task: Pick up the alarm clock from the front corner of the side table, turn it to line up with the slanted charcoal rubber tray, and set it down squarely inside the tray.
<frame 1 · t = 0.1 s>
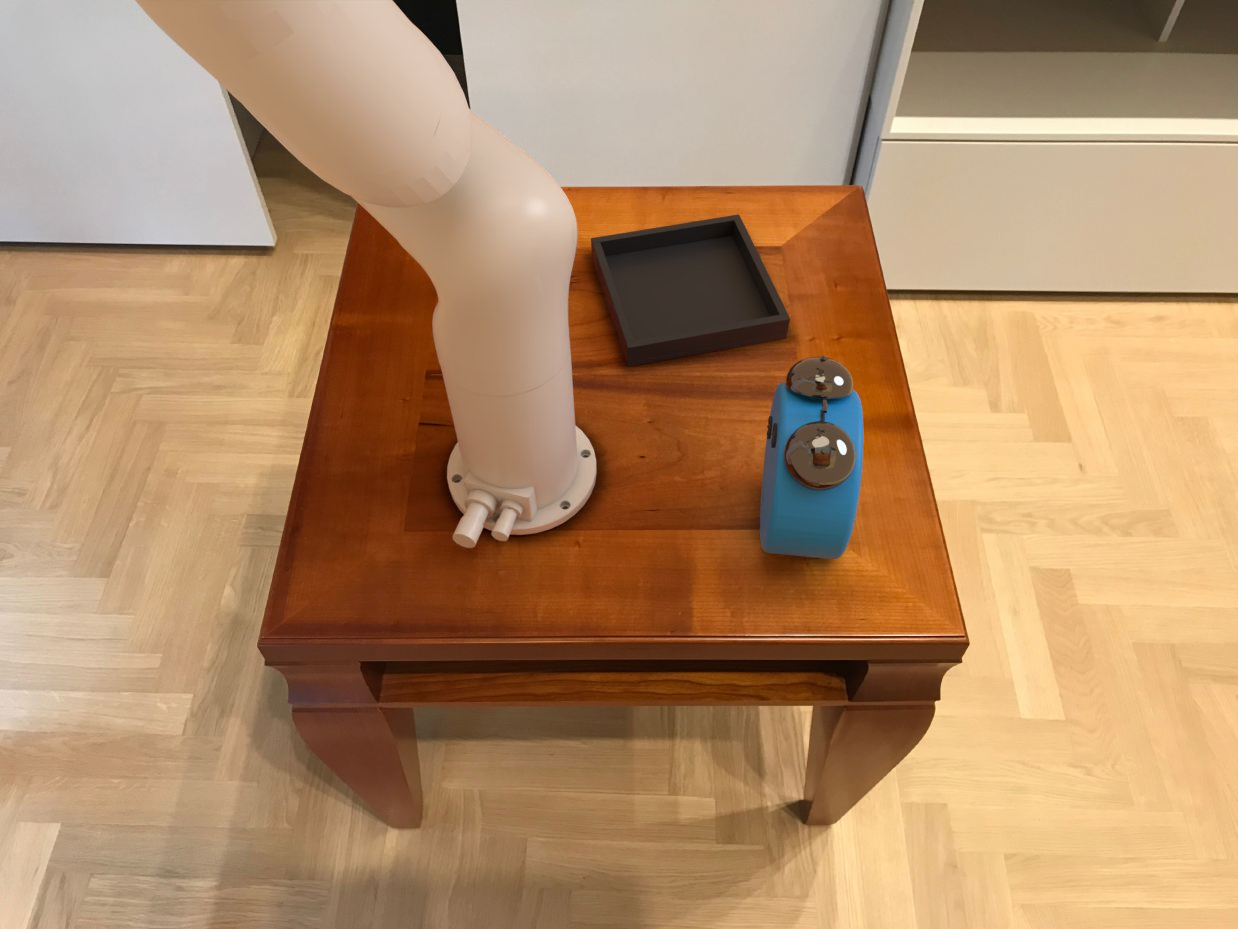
alarm clock: (793, 520, 78), on the table
tray: (685, 296, 93), on the table
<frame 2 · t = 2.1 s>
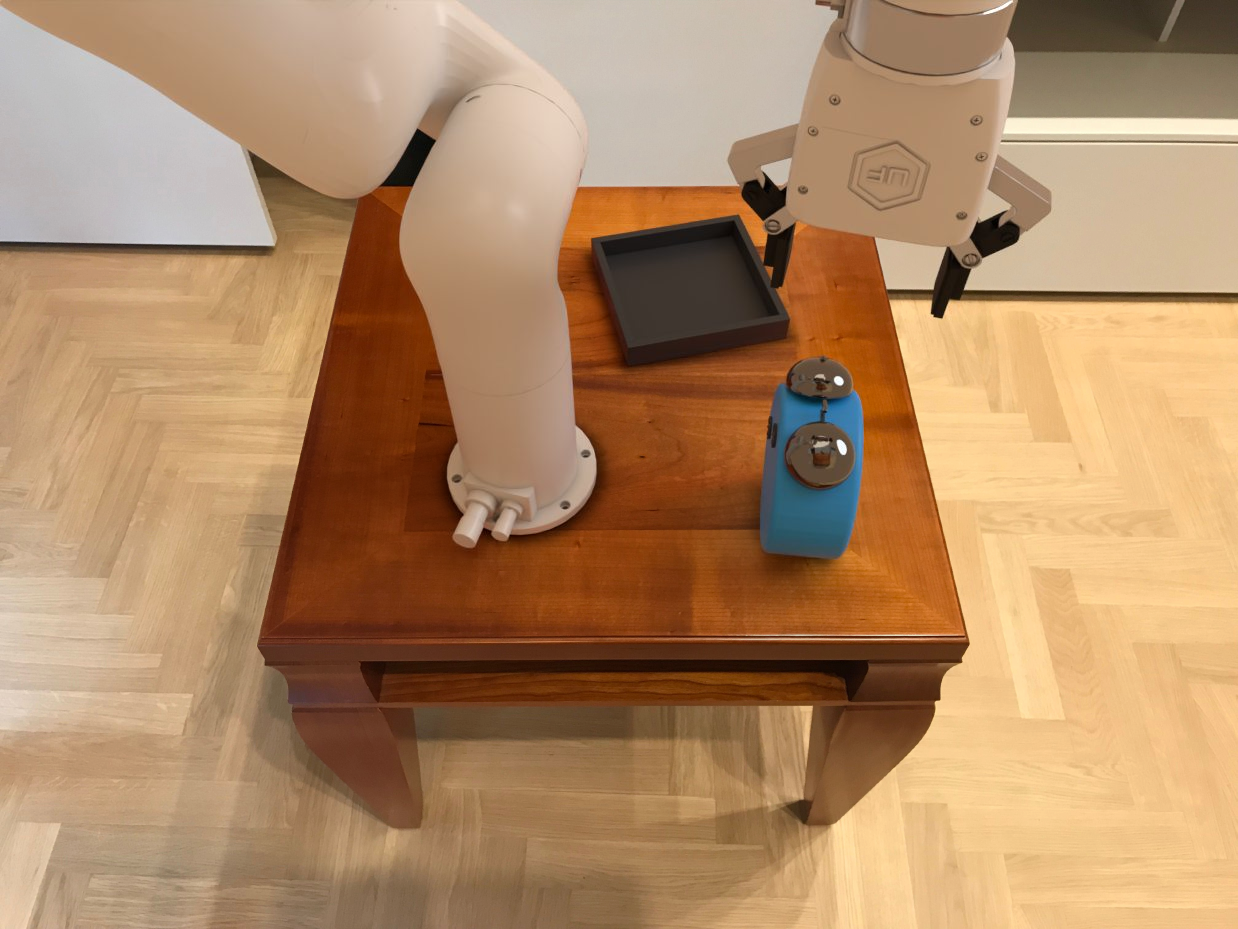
hand: (857, 287, 58), 25 cm above the table, tool pointing down, fingers open, 9 cm apart
nothing on the table moved.
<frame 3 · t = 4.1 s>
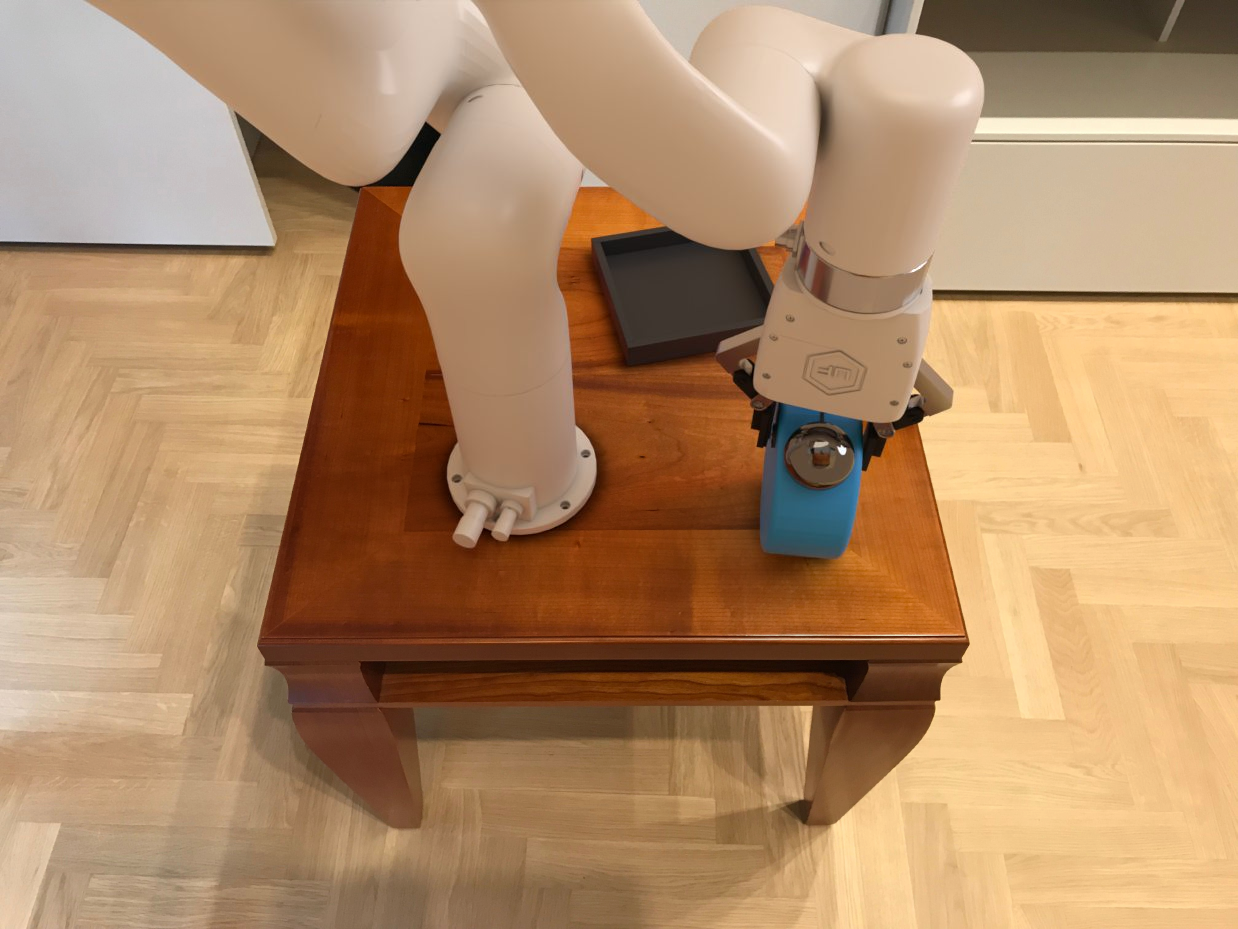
hand: (814, 443, 70), 10 cm above the table, tool pointing down, fingers closed on alarm clock, 6 cm apart
alarm clock: (793, 520, 78), on the table, touching gripper
everything else where it was.
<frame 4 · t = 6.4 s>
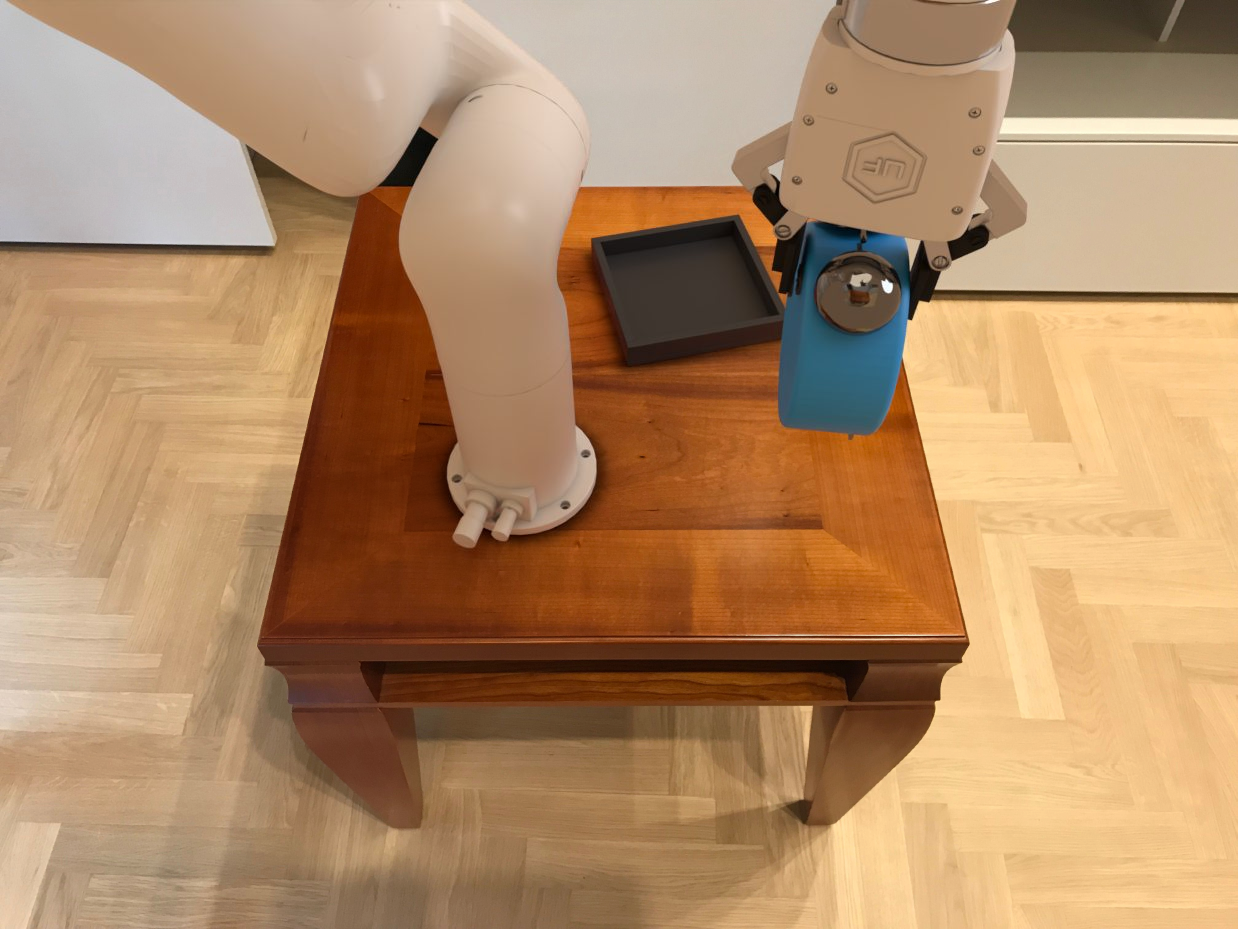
hand: (848, 289, 57), 25 cm above the table, tool pointing down, fingers closed on alarm clock, 6 cm apart
alarm clock: (817, 399, 66), point 15 cm above the table, touching gripper
everything else where it was.
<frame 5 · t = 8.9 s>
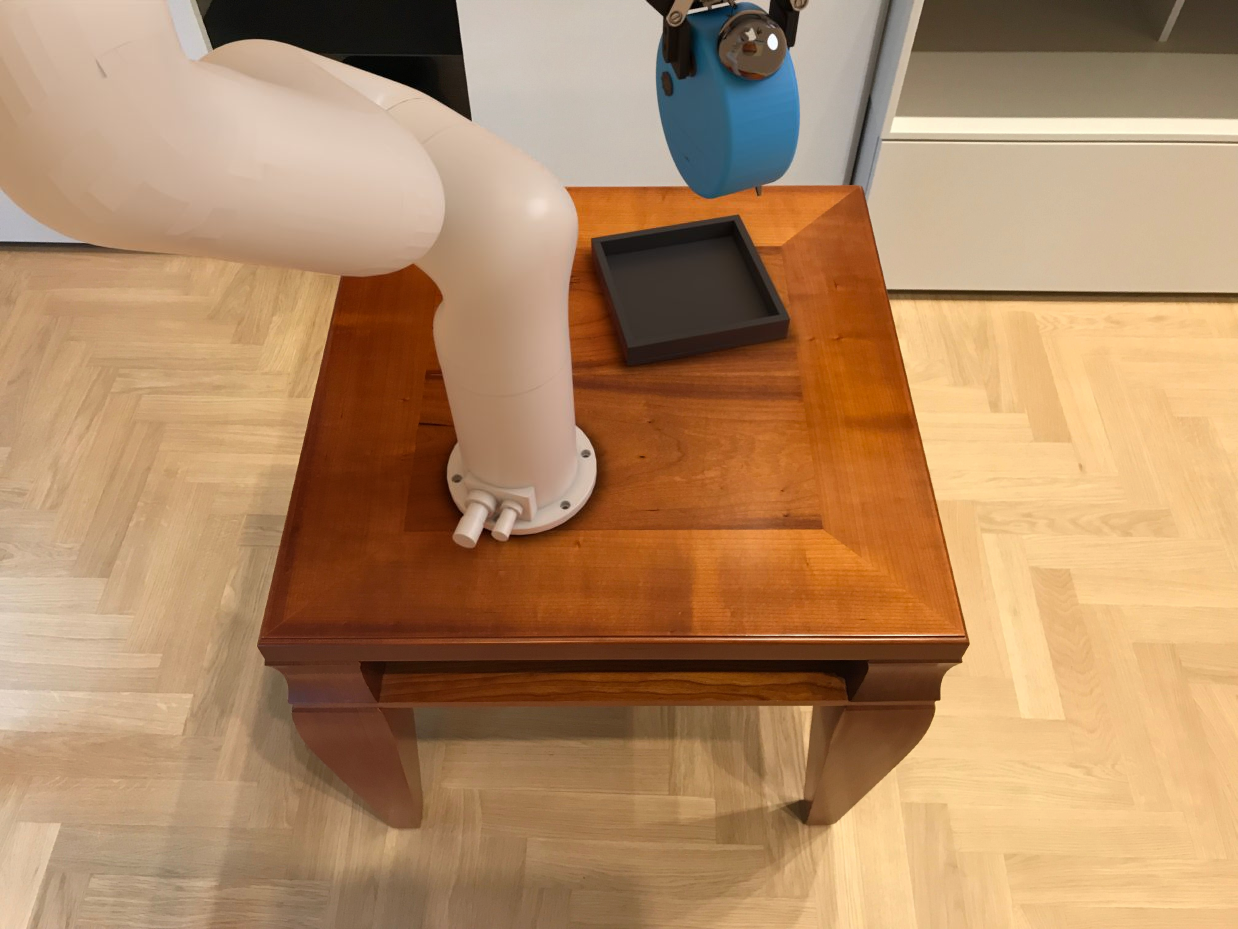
hand: (727, 60, 69), 28 cm above the table, tool pointing down, fingers closed on alarm clock, 6 cm apart
alarm clock: (716, 180, 77), point 17 cm above the table, touching gripper
everything else where it was.
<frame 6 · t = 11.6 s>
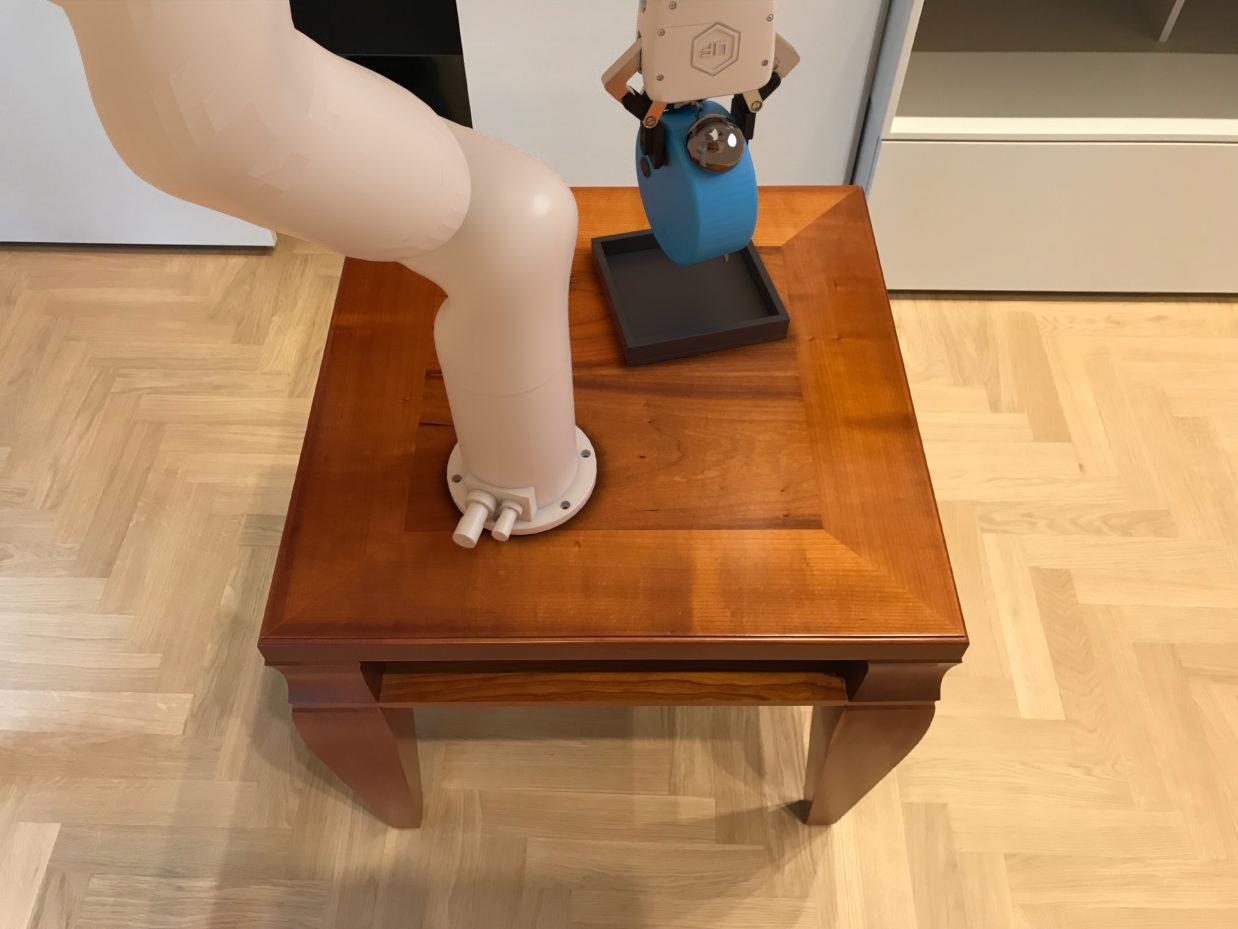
hand: (695, 151, 80), 17 cm above the table, tool pointing down, fingers closed on alarm clock, 6 cm apart
alarm clock: (689, 246, 88), point 6 cm above the table, touching gripper
everything else where it was.
when the fingers open (11 cm above the table, at t = 13.6 s): alarm clock stays where it is, resting on tray.
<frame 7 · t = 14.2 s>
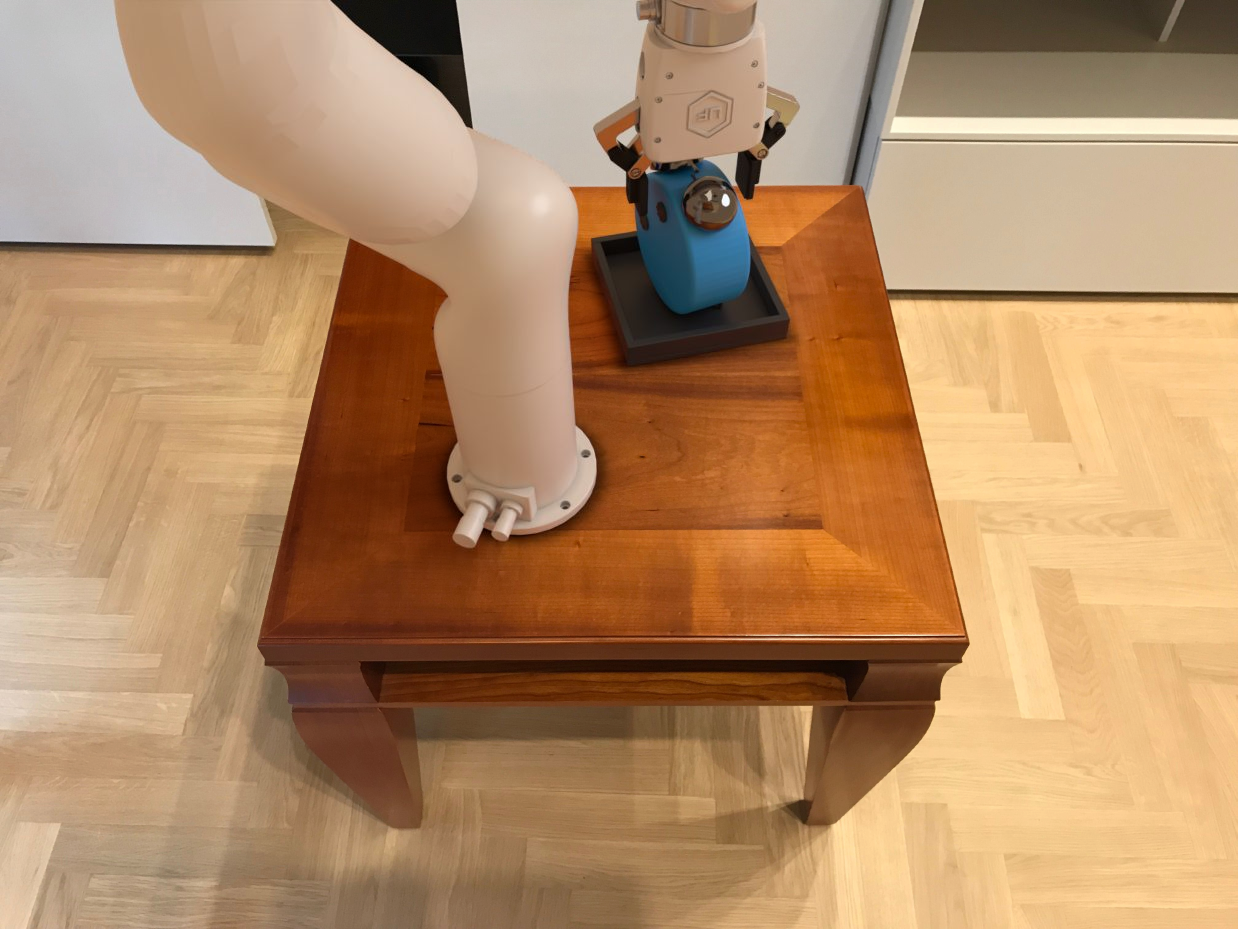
hand: (691, 198, 84), 12 cm above the table, tool pointing down, fingers open, 9 cm apart
alarm clock: (685, 293, 93), resting on tray
everything else where it was.
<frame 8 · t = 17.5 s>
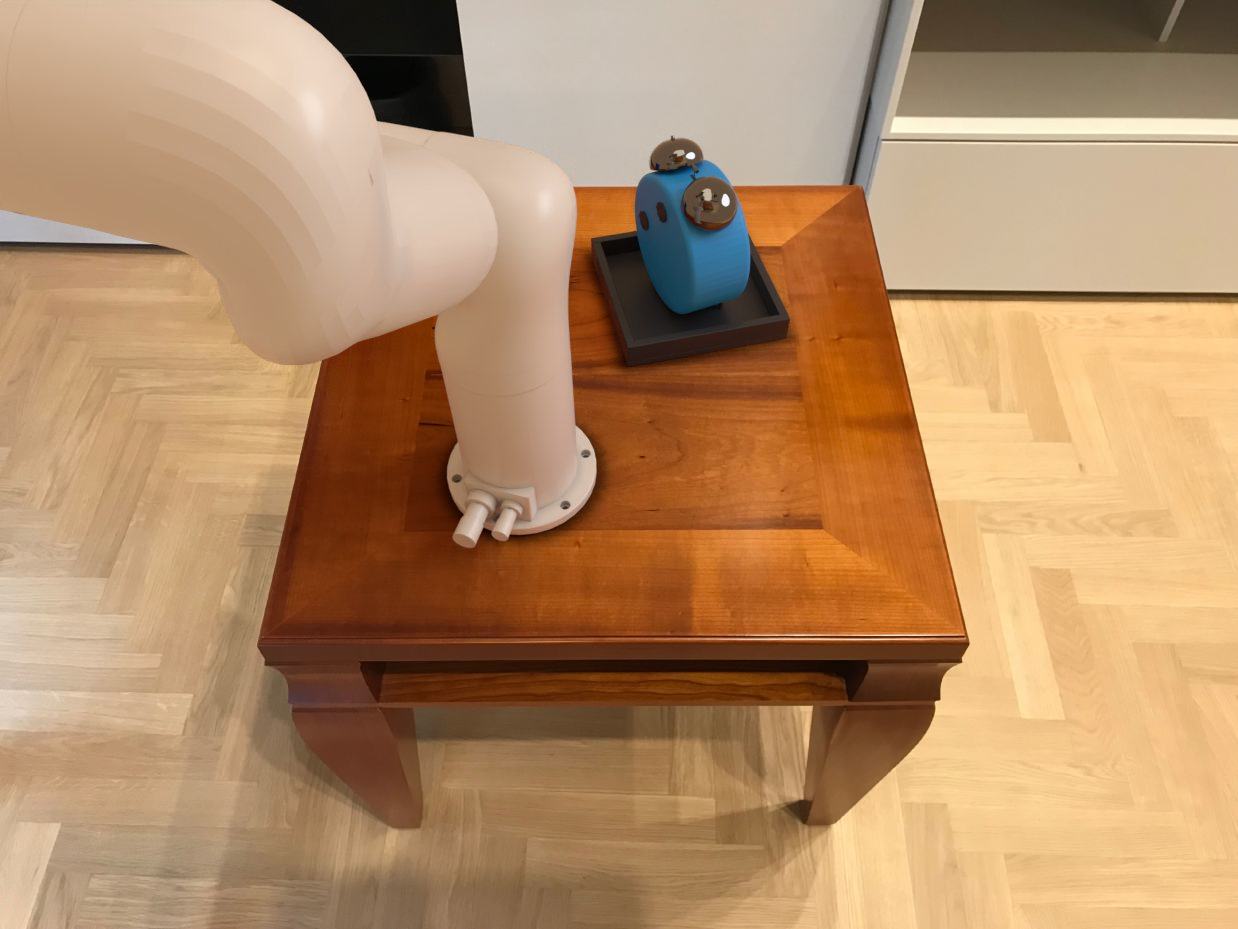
nothing on the table moved.
at the end: alarm clock 0.0 cm off-centre in the tray, point 0.4 cm above the tray's base; alarm clock tilted 0°; the gripper is holding nothing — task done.
